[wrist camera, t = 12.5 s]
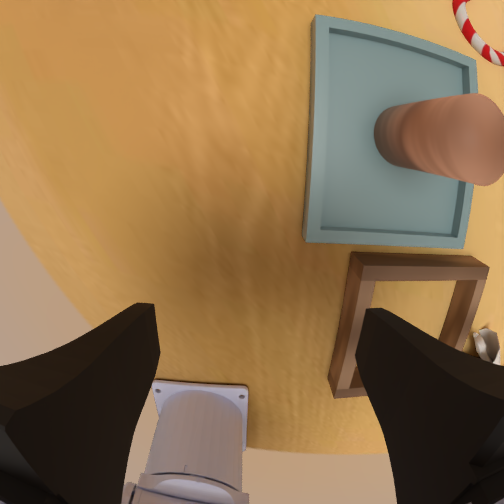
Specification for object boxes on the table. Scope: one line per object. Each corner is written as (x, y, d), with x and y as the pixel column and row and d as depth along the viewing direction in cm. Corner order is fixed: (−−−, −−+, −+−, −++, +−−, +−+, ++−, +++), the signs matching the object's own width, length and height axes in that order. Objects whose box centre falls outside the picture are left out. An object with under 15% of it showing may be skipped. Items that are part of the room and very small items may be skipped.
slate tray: (452, 242, 20) (463, 249, 19) (301, 235, 20) (305, 242, 19) (464, 63, 16) (475, 60, 14) (310, 22, 15) (315, 14, 14)
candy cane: (547, 18, 12) (505, 85, 15) (539, 19, 13) (495, 86, 17) (500, -44, 10) (444, 4, 14) (493, -40, 11) (436, 9, 15)
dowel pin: (424, 170, 18) (506, 191, 10) (372, 163, 18) (445, 179, 10) (427, 112, 17) (510, 107, 9) (374, 101, 17) (449, 82, 9)
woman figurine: (526, 309, 18) (538, 381, 23) (496, 285, 22) (520, 361, 27) (427, 406, 20) (471, 444, 26) (407, 373, 25) (457, 421, 30)
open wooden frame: (436, 366, 24) (447, 382, 22) (327, 378, 24) (333, 398, 22) (471, 255, 21) (489, 267, 18) (351, 251, 20) (363, 265, 18)
